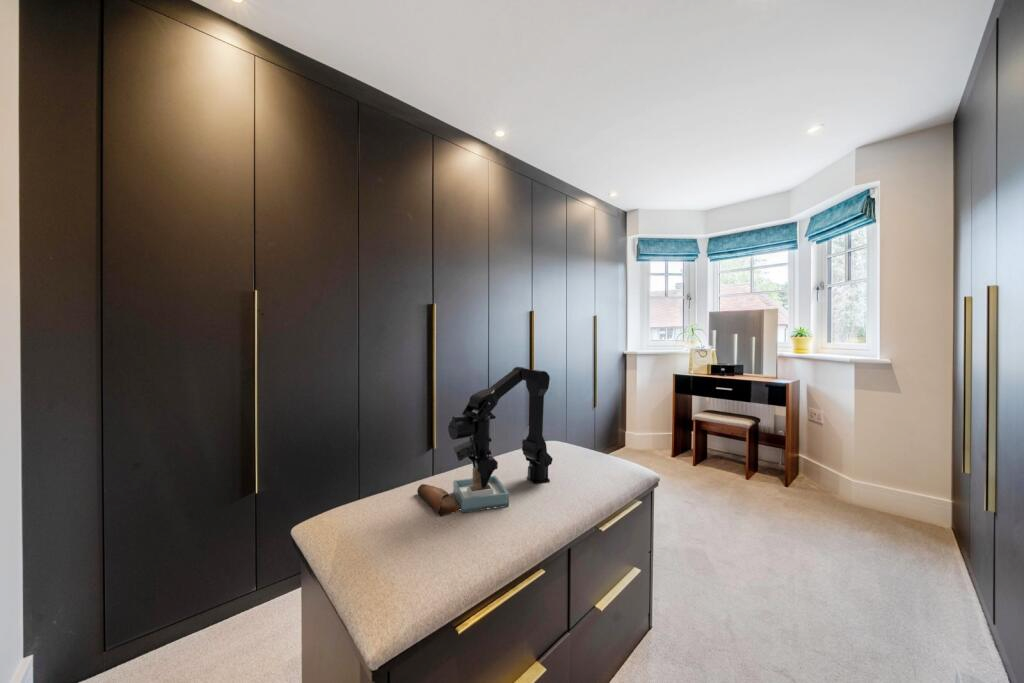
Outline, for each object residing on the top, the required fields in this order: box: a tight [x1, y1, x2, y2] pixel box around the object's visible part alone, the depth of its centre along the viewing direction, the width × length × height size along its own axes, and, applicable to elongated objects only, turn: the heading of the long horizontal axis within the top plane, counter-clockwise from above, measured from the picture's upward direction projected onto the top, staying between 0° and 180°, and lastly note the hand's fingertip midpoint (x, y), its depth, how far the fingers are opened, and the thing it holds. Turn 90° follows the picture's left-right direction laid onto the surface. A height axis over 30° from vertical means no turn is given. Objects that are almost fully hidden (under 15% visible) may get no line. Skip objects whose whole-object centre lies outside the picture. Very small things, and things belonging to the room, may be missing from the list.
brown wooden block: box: [472, 466, 488, 491], centre depth 121 cm, size 4×2×8 cm, turn 109°
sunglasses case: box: [417, 483, 460, 517], centre depth 118 cm, size 18×7×7 cm
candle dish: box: [452, 475, 510, 514], centre depth 121 cm, size 15×15×4 cm
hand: (480, 482), depth 121 cm, fingers open, 8 cm apart
